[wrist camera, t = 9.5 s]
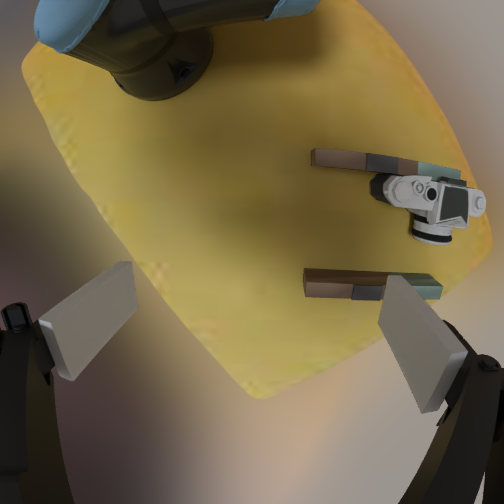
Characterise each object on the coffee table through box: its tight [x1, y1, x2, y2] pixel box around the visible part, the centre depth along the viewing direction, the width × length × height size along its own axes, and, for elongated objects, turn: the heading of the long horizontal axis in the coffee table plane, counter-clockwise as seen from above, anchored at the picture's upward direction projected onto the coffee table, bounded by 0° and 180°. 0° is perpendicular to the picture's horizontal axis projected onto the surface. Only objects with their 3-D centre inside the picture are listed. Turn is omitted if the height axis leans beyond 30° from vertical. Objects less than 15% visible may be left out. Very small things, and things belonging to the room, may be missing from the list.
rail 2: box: [303, 268, 443, 301], centre depth 36 cm, size 2×20×5 cm, turn 88°
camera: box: [369, 174, 486, 245], centre depth 30 cm, size 16×9×10 cm, turn 89°
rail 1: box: [311, 148, 461, 182], centre depth 31 cm, size 2×20×5 cm, turn 88°
